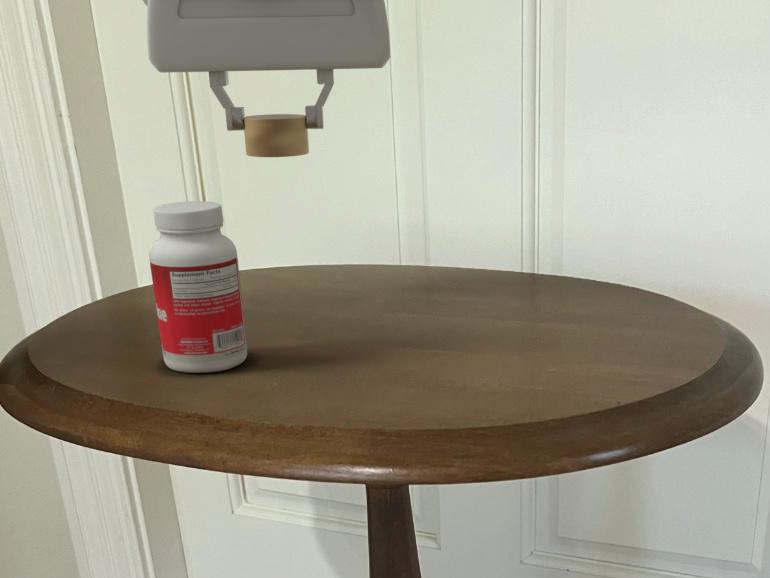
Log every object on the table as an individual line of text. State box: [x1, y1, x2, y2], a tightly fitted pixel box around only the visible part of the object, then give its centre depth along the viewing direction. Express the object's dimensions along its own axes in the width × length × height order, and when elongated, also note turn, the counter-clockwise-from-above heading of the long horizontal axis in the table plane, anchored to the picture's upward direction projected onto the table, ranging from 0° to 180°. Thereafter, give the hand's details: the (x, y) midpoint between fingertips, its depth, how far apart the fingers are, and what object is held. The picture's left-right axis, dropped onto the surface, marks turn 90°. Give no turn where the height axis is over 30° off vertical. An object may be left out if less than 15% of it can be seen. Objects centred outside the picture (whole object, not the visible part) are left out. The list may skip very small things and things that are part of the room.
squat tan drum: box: [243, 113, 310, 158], centre depth 94 cm, size 6×6×3 cm
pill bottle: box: [148, 200, 248, 374], centre depth 78 cm, size 6×6×11 cm
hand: (276, 129), depth 94 cm, fingers closed on squat tan drum, 5 cm apart
